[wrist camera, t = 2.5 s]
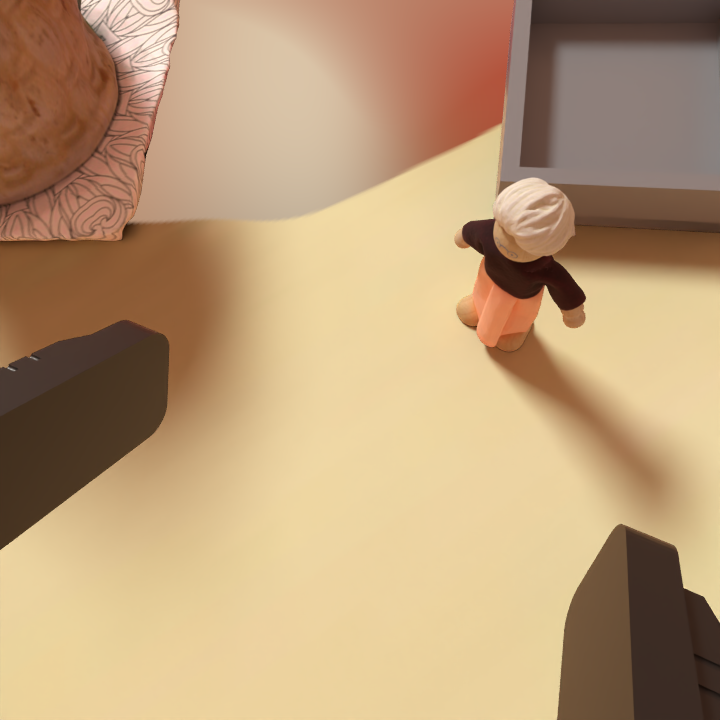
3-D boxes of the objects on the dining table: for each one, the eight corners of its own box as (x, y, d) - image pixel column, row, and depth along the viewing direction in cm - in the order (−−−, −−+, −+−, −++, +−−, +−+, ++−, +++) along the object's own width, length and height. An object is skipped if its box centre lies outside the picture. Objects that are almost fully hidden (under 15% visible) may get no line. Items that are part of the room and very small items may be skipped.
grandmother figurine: (428, 320, 34) (422, 196, 22) (460, 270, 35) (471, 124, 23) (546, 383, 32) (611, 284, 20) (577, 328, 32) (658, 200, 20)
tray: (725, 24, 38) (756, -34, 34) (737, 233, 33) (775, 193, 29) (511, 25, 40) (518, -29, 36) (493, 220, 35) (500, 181, 32)
